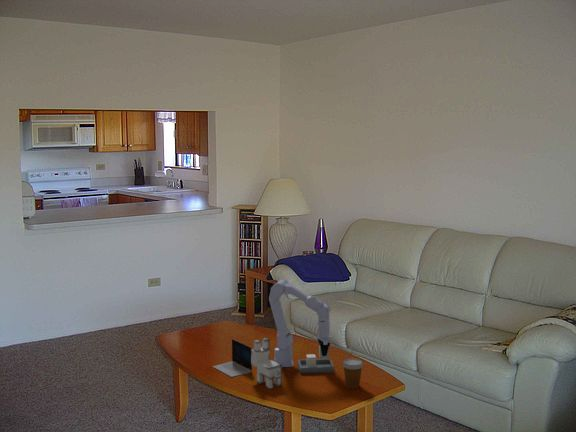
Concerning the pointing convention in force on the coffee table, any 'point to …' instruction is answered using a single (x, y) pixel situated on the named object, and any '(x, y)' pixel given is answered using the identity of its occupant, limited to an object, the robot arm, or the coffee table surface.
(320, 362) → the grey tray
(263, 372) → the toy llama
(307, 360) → the cream block
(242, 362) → the laptop
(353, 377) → the disposable coffee cup
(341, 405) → the coffee table surface
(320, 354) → the sage block
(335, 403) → the coffee table surface
